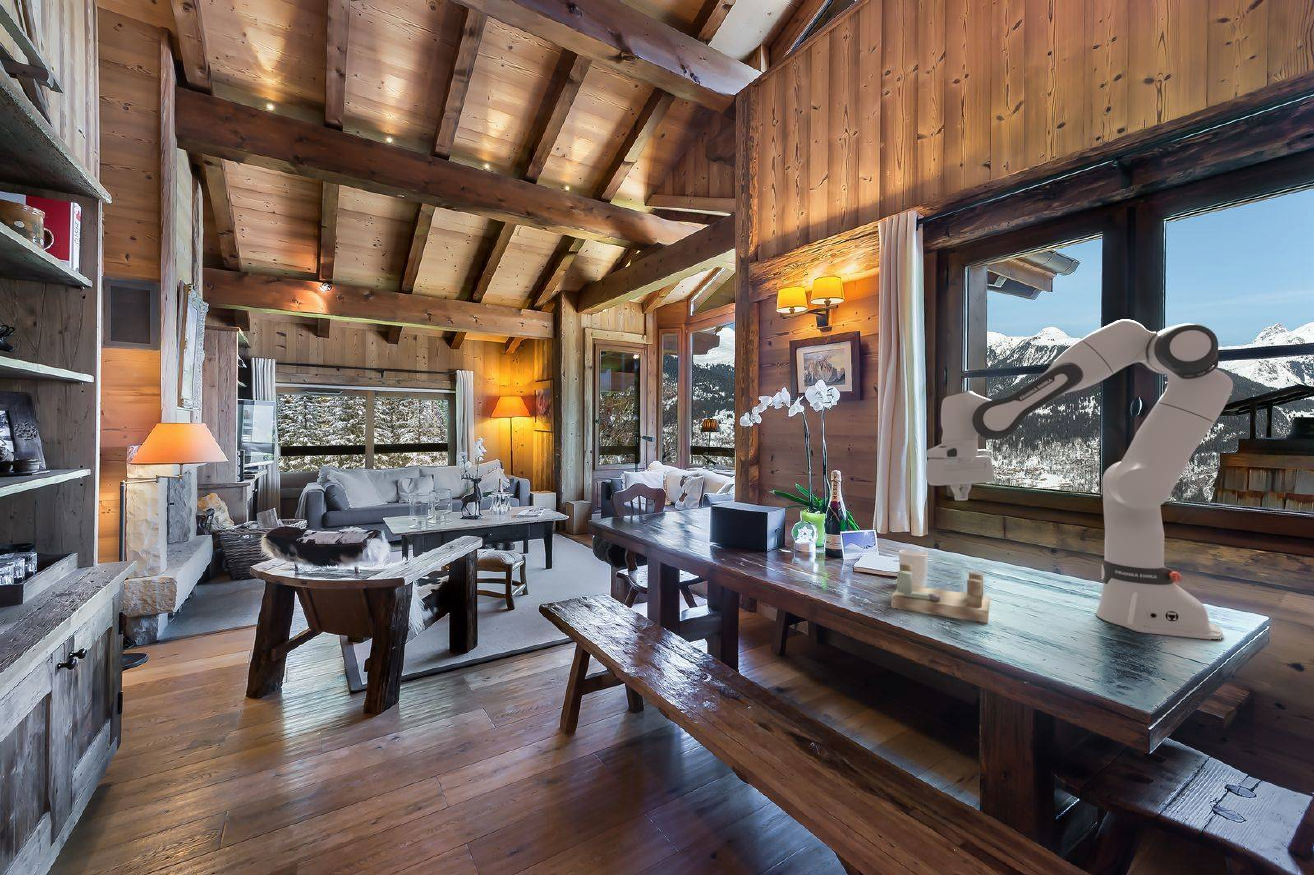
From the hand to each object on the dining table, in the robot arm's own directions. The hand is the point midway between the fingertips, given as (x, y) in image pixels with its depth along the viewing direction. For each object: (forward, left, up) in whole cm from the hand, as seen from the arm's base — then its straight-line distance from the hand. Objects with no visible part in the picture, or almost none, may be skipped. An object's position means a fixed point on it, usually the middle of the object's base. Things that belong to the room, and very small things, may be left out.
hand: (961, 500), depth 154 cm
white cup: (+13, -7, -28) cm, 31 cm away
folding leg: (+9, +16, -24) cm, 30 cm away
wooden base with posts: (+4, +12, -27) cm, 30 cm away
